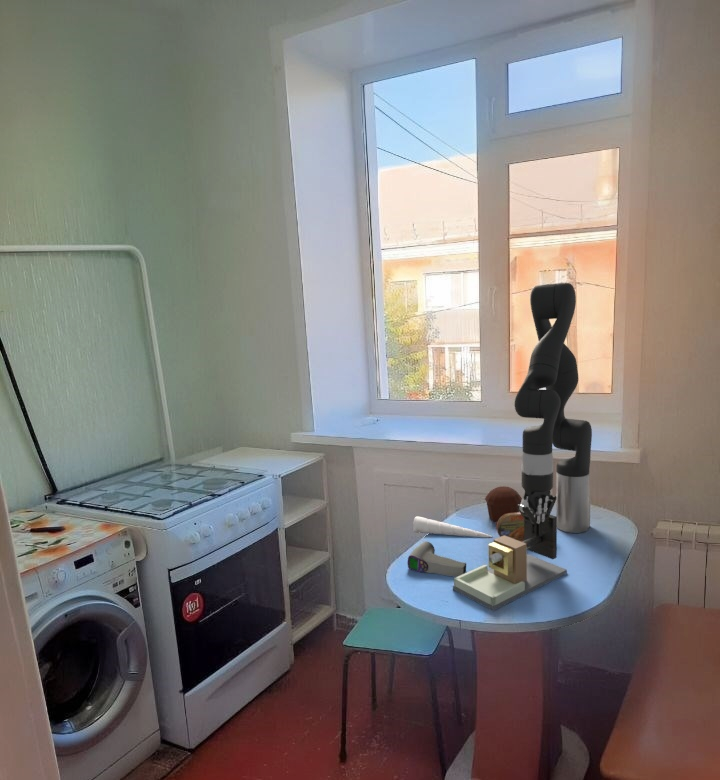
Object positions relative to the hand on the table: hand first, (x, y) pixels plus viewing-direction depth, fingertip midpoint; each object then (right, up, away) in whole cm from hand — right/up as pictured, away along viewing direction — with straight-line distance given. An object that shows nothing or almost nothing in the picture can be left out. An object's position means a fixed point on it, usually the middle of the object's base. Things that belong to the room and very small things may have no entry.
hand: (537, 535), depth 151 cm
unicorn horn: (-17, -7, +31) cm, 36 cm away
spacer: (-10, -8, -3) cm, 13 cm away
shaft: (-5, -7, +1) cm, 8 cm away
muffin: (+1, -4, +40) cm, 40 cm away
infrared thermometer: (-23, -11, +11) cm, 28 cm away
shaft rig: (-7, -11, 0) cm, 13 cm away
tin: (+3, -7, +23) cm, 25 cm away
